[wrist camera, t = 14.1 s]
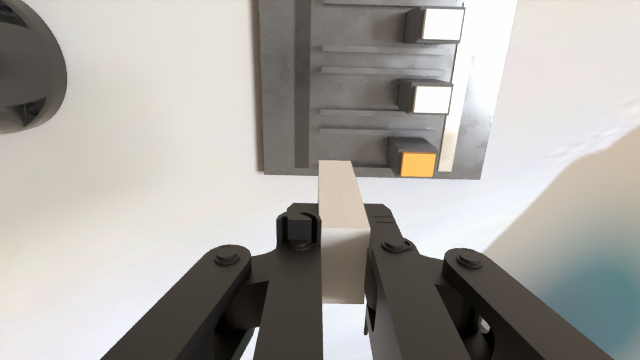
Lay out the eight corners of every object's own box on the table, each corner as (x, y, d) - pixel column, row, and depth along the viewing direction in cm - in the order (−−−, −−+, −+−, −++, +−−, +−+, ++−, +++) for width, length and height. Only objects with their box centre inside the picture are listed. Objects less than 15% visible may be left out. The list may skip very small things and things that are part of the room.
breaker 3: (386, 162, 40) (397, 178, 35) (389, 137, 39) (400, 150, 34) (420, 162, 40) (435, 179, 35) (424, 137, 39) (440, 151, 34)
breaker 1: (403, 43, 36) (418, 42, 31) (407, 11, 35) (422, 4, 29) (441, 44, 36) (463, 43, 31) (446, 12, 35) (469, 6, 30)
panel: (265, 171, 42) (262, 178, 40) (259, -14, 35) (255, -18, 33) (476, 176, 42) (484, 183, 40) (513, -6, 35) (525, -10, 33)
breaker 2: (396, 106, 38) (409, 115, 33) (400, 78, 37) (413, 83, 32) (432, 107, 38) (451, 116, 33) (436, 79, 37) (456, 84, 32)
